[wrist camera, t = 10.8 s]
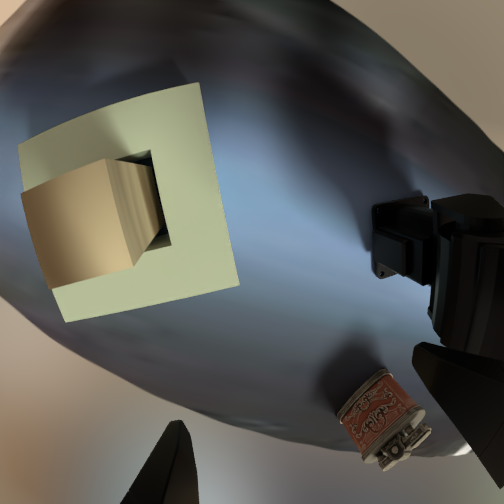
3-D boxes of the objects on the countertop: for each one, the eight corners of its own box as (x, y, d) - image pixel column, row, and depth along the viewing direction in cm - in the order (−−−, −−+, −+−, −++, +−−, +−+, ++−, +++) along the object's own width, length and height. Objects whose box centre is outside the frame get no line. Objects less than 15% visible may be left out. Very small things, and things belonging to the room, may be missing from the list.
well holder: (198, 100, 17) (198, 82, 13) (231, 264, 21) (239, 285, 17) (45, 148, 16) (17, 145, 12) (84, 298, 19) (65, 322, 15)
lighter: (348, 421, 29) (385, 480, 19) (331, 416, 28) (367, 481, 18) (394, 373, 28) (443, 426, 18) (379, 365, 27) (431, 424, 17)
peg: (151, 166, 18) (105, 158, 8) (164, 222, 19) (133, 267, 10) (99, 183, 17) (20, 193, 8) (112, 237, 19) (49, 289, 9)
